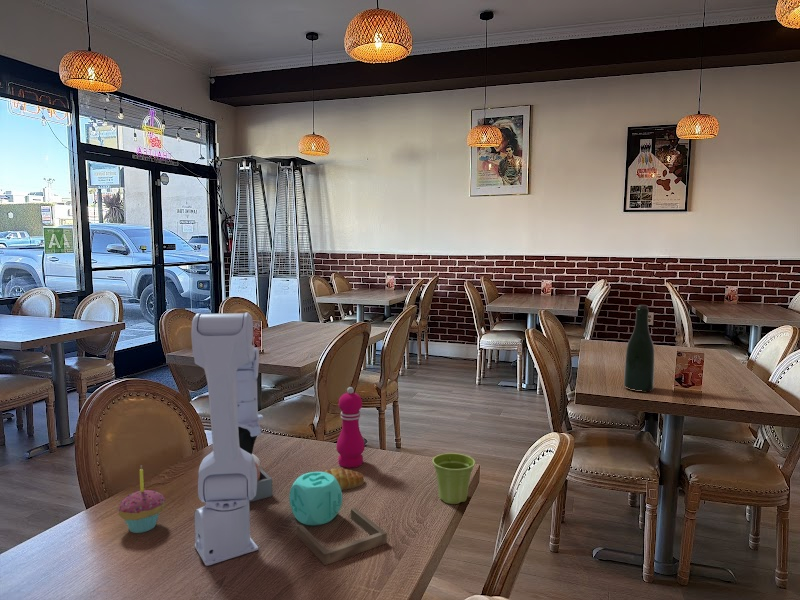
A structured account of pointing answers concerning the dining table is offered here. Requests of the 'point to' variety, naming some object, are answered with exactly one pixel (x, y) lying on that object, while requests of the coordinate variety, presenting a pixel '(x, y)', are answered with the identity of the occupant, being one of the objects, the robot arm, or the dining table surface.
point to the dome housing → (263, 486)
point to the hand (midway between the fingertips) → (245, 457)
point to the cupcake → (141, 508)
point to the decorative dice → (315, 498)
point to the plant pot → (453, 476)
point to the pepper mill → (350, 431)
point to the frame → (348, 549)
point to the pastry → (346, 478)
